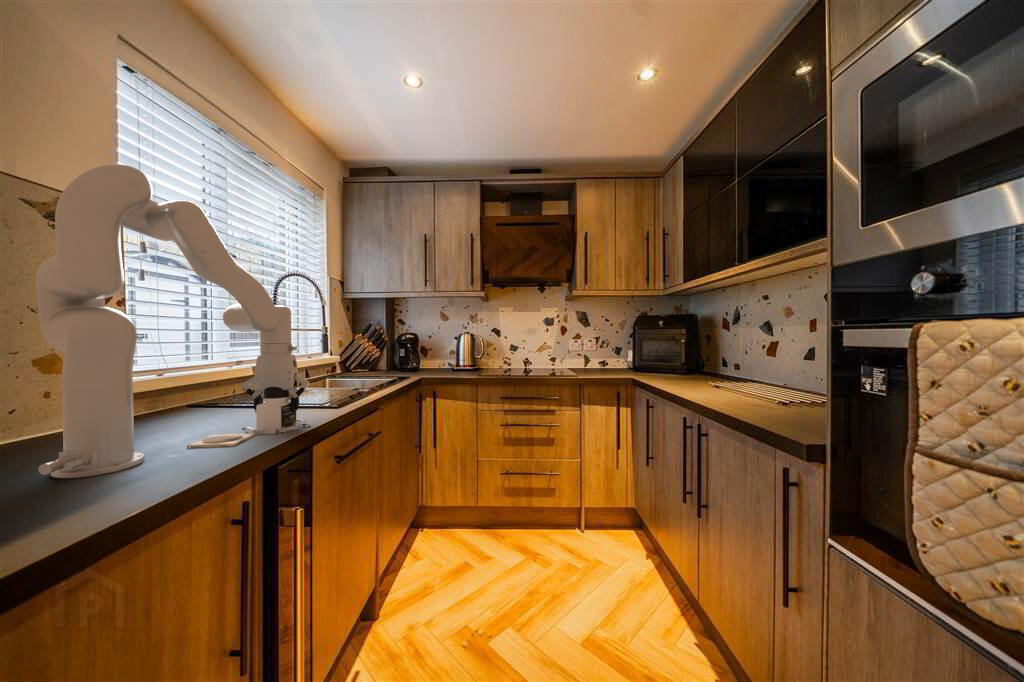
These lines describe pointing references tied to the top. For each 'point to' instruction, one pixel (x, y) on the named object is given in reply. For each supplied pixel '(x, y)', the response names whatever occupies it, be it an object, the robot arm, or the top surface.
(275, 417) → the medicine bottle
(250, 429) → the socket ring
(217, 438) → the cork pad
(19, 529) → the top surface
